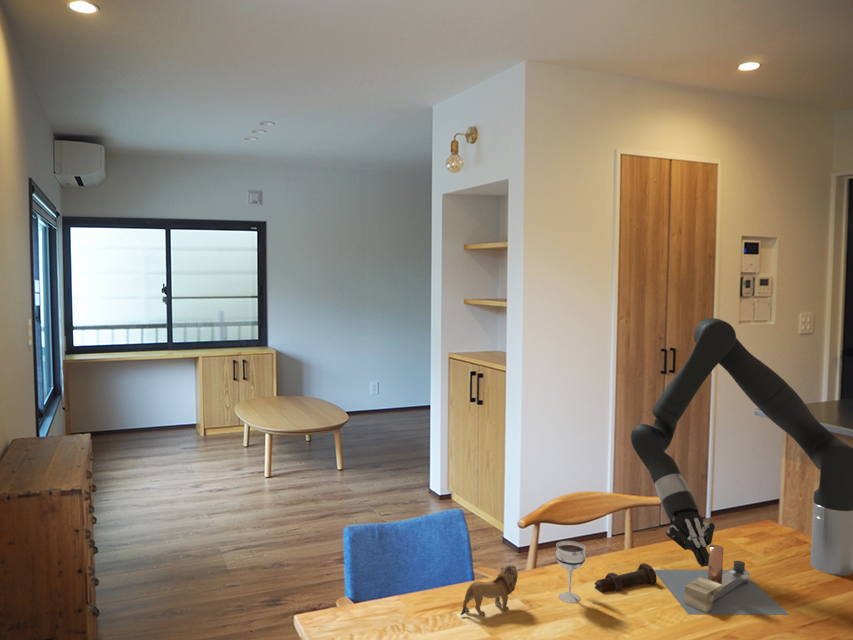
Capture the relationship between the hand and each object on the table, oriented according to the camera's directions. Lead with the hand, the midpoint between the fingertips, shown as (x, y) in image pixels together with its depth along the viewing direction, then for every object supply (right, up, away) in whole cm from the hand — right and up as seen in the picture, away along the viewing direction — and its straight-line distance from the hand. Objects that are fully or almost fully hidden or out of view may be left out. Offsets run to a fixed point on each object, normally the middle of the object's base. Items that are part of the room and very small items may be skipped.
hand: (706, 565), depth 158 cm
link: (+4, -5, +1) cm, 7 cm away
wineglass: (-32, -7, -2) cm, 33 cm away
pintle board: (+2, -7, 0) cm, 7 cm away
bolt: (-19, -7, +2) cm, 20 cm away
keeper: (-3, -6, -6) cm, 10 cm away
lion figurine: (-51, -7, -7) cm, 52 cm away
